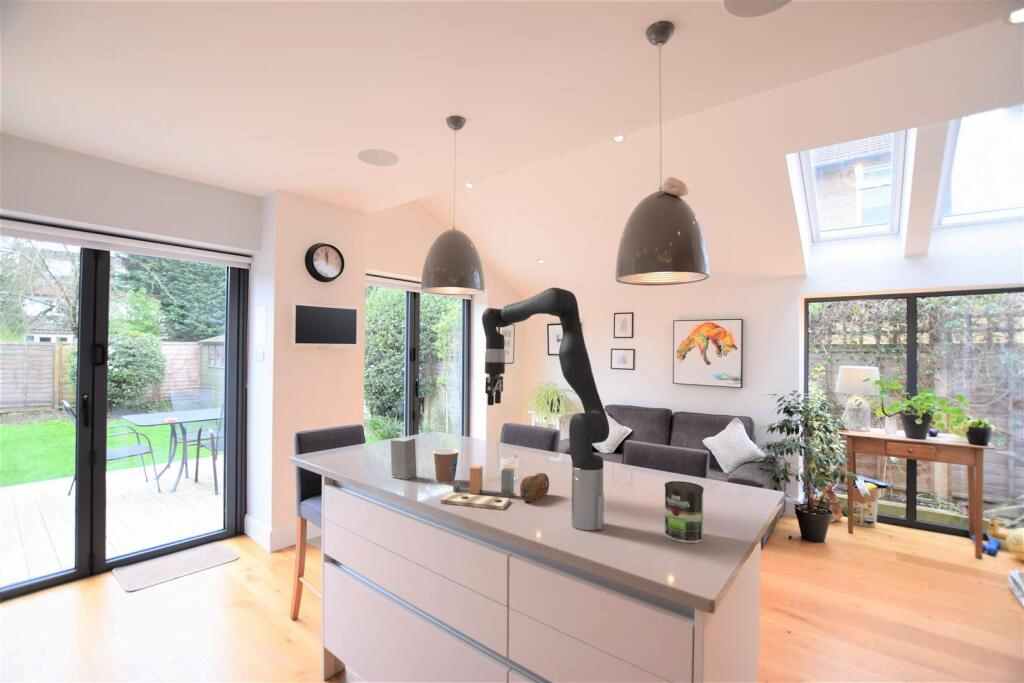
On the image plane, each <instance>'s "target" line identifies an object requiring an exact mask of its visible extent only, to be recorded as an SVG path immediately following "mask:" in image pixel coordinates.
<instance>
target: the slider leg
mask: <svg viewBox="0 0 1024 683" xmlns="http://www.w3.org/2000/svg"><path fill="white" fill-rule="evenodd" d="M483 468H484V467H483V466H481V465H472V466H471V467H469V489H470V493H469V494H472V495H481V494H480V490H483V475H484V474H483Z"/></svg>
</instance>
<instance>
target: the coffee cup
mask: <svg viewBox="0 0 1024 683" xmlns="http://www.w3.org/2000/svg"><path fill="white" fill-rule="evenodd" d="M459 452H460V450H459V449H456V448H455V449H454V448H438V449H435V450H433V458H434V459H433V460H434V467H435V470H434V471H435V478H436V483H438V482H439V483H438V484H442V483H447V484H452V483H454V482H455V479H456V474H457V465H458V459H459ZM451 482H452V483H451Z"/></svg>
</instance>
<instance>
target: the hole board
mask: <svg viewBox="0 0 1024 683" xmlns="http://www.w3.org/2000/svg"><path fill="white" fill-rule="evenodd" d="M440 502H441V503H440V504H443V503H449V504H448V505H452V504H458V505H457V506H462V505H465V506H464V507H471V506H474V507H473V508H480V507H483V509H489V508H491V509H492V510H498V509H501V510H502V511H503V510H504V509H505V508H506V507H507V506H508V505H509V504H510V503H511V498H508V497H501V496H492V495H482V494H472V493H463V492H450V493H448V494H447V495H445V496H443V497H442V498H441V499H440ZM491 509H490V510H491Z"/></svg>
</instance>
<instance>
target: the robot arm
mask: <svg viewBox="0 0 1024 683" xmlns="http://www.w3.org/2000/svg"><path fill="white" fill-rule="evenodd" d="M538 314H539V315H541V314H542V315H544V314H545V315H550V316H551V317H552V316H553V317H558V318H559V323H560V325H561V328H562V339H561V341H560V346H559V350H558V359H559V363H560V369H561V372H562V376H563V378H564V379H565V381H566V382H567V384H568V386H570V387H571V388H572V390H573V391H574V392H575V394H576V395H577V396H578V398H579V399H580V402H581V404H582V408H583V410H584V412H578V413H575V414H574V415H573V416H571V419H569V420H570V421H569V424H568V425H569V426H568V427H569V428H568V439H569V455H570V459H571V526H572V527H573V528H575V529H578V530H583V531H602V530H603V528H604V524H605V523H604V522H605V521H604V520H605V510H604V509H605V491H604V459H603V457H602V456H601V455H597V454H595V453H594V452H593V446H592V445H593V444H601V443H604V442H606V441H607V439H608V438H609V435H610V423H609V419H608V416H607V414H606V410H605V408H604V405H603V402H602V400H601V397H600V394H599V390H598V388H597V384H596V381H595V378H594V374H593V369H592V366H591V365H592V364H591V361H590V356H589V353H588V349H587V347H586V343H585V338H584V334H583V330H582V323H581V319H580V312H579V305H578V301H577V297H576V295H575V294H574V293H573V292H571V291H570V290H567V289H564V288H559V287H549V288H547V289H544V290H543V291H541V292H539V293H537V294H535V295H533V296H532V297H529V298H527V299H525V300H521V301H518V302H514V303H510V304H507V305H505V306H503V308H494V307H488V308H486V309H485V310H484V311H483V313H482V316H481V324H482V327H483V332H484V336H485V353H484V374H486V375H488V376H486V377H485V389H484V390H485V391H484V392H485V394H486V395H487V405H488V406H494V405H495V404H499V405H500V404H502V399H501V398H502V392H504V376H502V375H504V374H505V373H506V372H505V371H506V352H505V339H506V338H505V335H504V334H502V333H500V332H498V330H497V329H498V328H506V327H509V326H511V325H512V324H516V323H520V322H524V321H526V320H528V319H530V318H531V317H533V316H534V315H538Z"/></svg>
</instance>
